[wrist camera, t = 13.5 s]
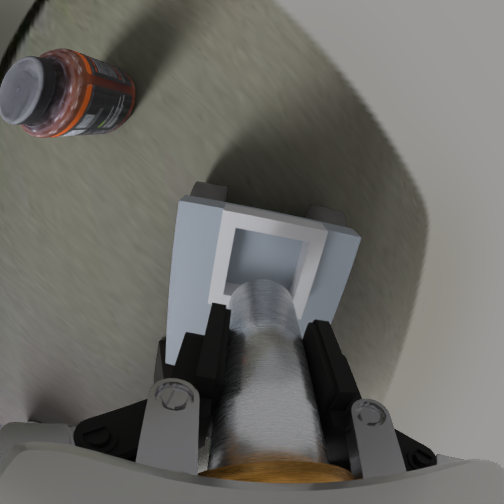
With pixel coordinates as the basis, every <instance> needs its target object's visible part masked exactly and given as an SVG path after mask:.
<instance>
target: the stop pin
mask: <svg viewBox="0 0 504 504" xmlns="http://www.w3.org/2000/svg"><path fill="white" fill-rule="evenodd" d="M228 309H230V310H231V318H230V327H229V336H228V344H227V353H226V362H225V371H224V379H223V385H222V390H221V395H220V400H219V404H218V406H217V408H216V410H215V413H214V419H213V428H212V436H211V444H210V453H209V461H208V470H207V471H204V472H201V473H198V476H204V477H210V478H218V479H226V480H235V481H247V482H263V483H322V482H338V481H349V480H355V479H354V476H353V475H352V474H351V472H349V471H348V470H346V469H344V468H341V467H339V466H335V465H330V464H329V461H328V456H327V451H326V446H325V441H324V436H323V431H322V427H321V422H320V417H319V412H318V408H317V403H316V398H315V394H314V389H313V385H312V380H311V376H310V371H309V367H308V362H307V358H306V354H305V349H304V345H303V341H302V337H301V332H300V328H299V324H298V320H297V316H296V311H295V307H294V303H293V299H292V297H291V295H290V293H289V292H288V290H287V289H286V288H285V287H284V286H282V285H281V284H279V283H277V282H275V281H272V280H267V279H256V280H251V281H248V282H246V283H244V284H242V285H241V286H239V287H238V288H237V289H236V290H235V291H234V292H233V294H232V296H231V298H230V300H229V305H228Z"/></svg>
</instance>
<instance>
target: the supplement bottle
mask: <svg viewBox="0 0 504 504" xmlns="http://www.w3.org/2000/svg"><path fill="white" fill-rule="evenodd" d="M134 103H135V86H134V83H133V81H132V79H131V78H130V76H129V75H128V74H127V73H125V72H124V71H122V70H121V69H119V68H116V67H114V66H112V65H109V64H107V63H104V62H102V61H99V60H97V59H94V58H92V57H89V56H86V55H84V54H81V53H78V52H75V51H73V50H69V49H55V50H51V51H48V52H46V53H44V54H42V55H41V56H40V57H35V56H27V57H24V58H22V59H20V60H18V61H17V62H16V63H15V64H14V65H13V66H12V67H11V68H10V69H9V71H8V72H7V74H6V76H5V77H4V80H3V82H2V84H1V88H0V114H1V116H2V118H3V119H4V120H5V121H6V122H7V123H9V124H13V125H18V124H20V125H21V126H22V128H23V129H24V130H25V131H26V132H27V133H29V134H30V135H32V136H35V137H39V138H47V137H60V136H74V135H93V134H105V133H108V132H111V131H114V130H116V129H117V128H118V127H120V126H121V125H122V124H123V123H124V122H125V121H126V120H127V118H128V117H129V115H130V114H131V112H132V109H133V107H134Z"/></svg>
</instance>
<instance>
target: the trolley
mask: <svg viewBox="0 0 504 504" xmlns="http://www.w3.org/2000/svg"><path fill="white" fill-rule="evenodd" d="M227 192H228V187H226V186H221V185H215V184H209V183H204V182H198V181H197V182H196V183H195V185H194V187H193V189H192V192H191V195H190V196H189V195H185V196H184V197H183V198H182V199H180V200H179V204H178V212H177V219H176V228H175V236H174V245H173V255H172V265H171V276H170V287H169V301H168V316H167V334H166V359H165V363H167V364H171V365H175V363H176V360H177V357H178V354H179V350H180V347H181V344H182V341H183V338H184V335H185V333H186V332H190V333H195V334H200V335H205V331H206V327H207V323H208V318H209V314H210V310H211V306H212V302H213V303H218V304H223V305H226V309H228V305H229V300H230V298H231V296H232V294H233V292H234V291H235V290H236V289H237V288H238V287H239V286H241V285H242V284H244V283H246V282H248V281H251V280H256V279H267V280H272V281H275V282H277V283H279V284H281V285H282V286H284V287H285V288H286V289H287V290H288V292H289V293H290V295H291V297H292V299H293V303H294V307H295V311H296V316H297V320H298V324H299V328H300V332H301V337H302V339H303V336H304V333H305V330H306V327H307V325H308V323H309V322H311V323H312V322H313V321H314V320H315V319H316V320H323V321H329V323H330V325H331V323H332V320H333V318H334V315H335V312H336V310H337V307H338V305H339V302H340V299H341V297H342V294H343V291H344V288H345V285H346V283H347V280H348V277H349V274H350V271H351V268H352V265H353V262H354V259H355V256H356V253H357V250H358V247H359V244H360V241H361V238H362V237H360V236H359V235H358V234H357V233H356V232H355V231H354V230H353V229H351V228H347V227H346V219H345V215H344V213H343V212H342V211H339V210H334V209H330V208H326V207H322V206H318V205H311V206H310V207H309V209H308V210H307V212H306V215H305V217H304V218H302V217H298V216H293V215H288V214H284V213H279V212H274V211H269V210H264V209H259V208H254V207H249V206H244V205H239V204H233V203H228V202H226V200H227Z"/></svg>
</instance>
